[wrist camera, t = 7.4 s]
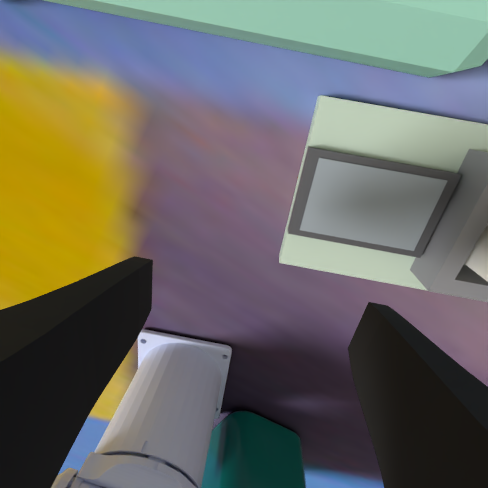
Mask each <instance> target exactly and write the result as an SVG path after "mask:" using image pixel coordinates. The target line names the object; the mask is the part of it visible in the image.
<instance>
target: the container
mask: <svg viewBox="0 0 488 488" xmlns="http://www.w3.org/2000/svg"><path fill="white" fill-rule="evenodd" d="M44 1H49V2H54V3H59V4H64V5H69V6H74V7H79V8H84V9H89V10H94V11H99V12H104V13H109V14H114V15H119V16H124V17H129V18H134V19H139V20H144V21H149V22H154V23H159V24H164V25H169V26H174V27H179V28H184V29H189V30H194V31H199V32H204V33H209V34H214V35H219V36H224V37H229V38H234V39H239V40H244V41H249V42H254V43H259V44H264V45H269V46H274V47H279V48H284V49H289V50H294V51H299V52H304V53H309V54H314V55H319V56H324V57H329V58H334V59H339V60H344V61H349V62H354V63H359V64H364V65H369V66H374V67H379V68H384V69H389V70H394V71H399V72H404V73H409V74H414V75H419V76H424V77H429V78H430V77H435V76H439V75H444V74H449V73H453V72H457V71H462V70H466V69H470V68H474V67H478V66H481V65H482V64H483V63H484V62H485V61H486V60H487V59H488V0H44Z"/></svg>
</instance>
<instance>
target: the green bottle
mask: <svg viewBox="0 0 488 488" xmlns="http://www.w3.org/2000/svg"><path fill="white" fill-rule="evenodd" d="M201 488H306V479H305V471H304V462H303V453H302V444H301V440H300V438H299V436H298V435H297V434H296V433H295V432H294V431H292V430H290V429H288V428H285V427H283V426H281V425H279V424H277V423H275V422H273V421H270V420H268V419H266V418H264V417H262V416H260V415H258V414H255V413H253V412H250V411H245V410H243V411H235V412H232V413H230V414H228V415H227V416H226V417H225V418H224V419H223V420H222V421H221V422H220V423H219V424H218V425H217V426H216V427H215V428H214V429H213V430H212V433H211V438H210V444H209V449H208V454H207V459H206V464H205V469H204V475H203V480H202V485H201Z"/></svg>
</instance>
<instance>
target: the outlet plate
mask: <svg viewBox="0 0 488 488" xmlns="http://www.w3.org/2000/svg"><path fill="white" fill-rule="evenodd" d="M487 224H488V125H487V124H482V123H476V122H470V121H464V120H459V119H453V118H447V117H441V116H436V115H430V114H424V113H419V112H413V111H407V110H401V109H396V108H390V107H384V106H378V105H373V104H367V103H361V102H355V101H350V100H344V99H338V98H333V97H327V96H321V95H320V96H318V98H317V102H316V106H315V110H314V114H313V118H312V123H311V127H310V131H309V135H308V139H307V143H306V147H305V151H304V155H303V159H302V164H301V168H300V172H299V176H298V180H297V184H296V188H295V192H294V196H293V201H292V205H291V209H290V213H289V217H288V221H287V225H286V229H285V233H284V238H283V242H282V246H281V250H280V254H279V263H283V264H288V265H294V266H299V267H304V268H310V269H315V270H320V271H326V272H331V273H337V274H342V275H347V276H353V277H358V278H363V279H369V280H374V281H380V282H385V283H390V284H396V285H401V286H406V287H412V288H417V289H422V290H428V291H430V292H435V293H441V294H446V295H451V296H457V297H462V298H468V299H473V300H478V301H484V302H488V282H487V281H486V280H485V279H483V278H482V277H481V276H479V275H478V274H477V273H476V272H474V271H473V270H472V269H471V268H469V267H468V266H467V265H465V264H464V263H465V261H466V260H467V258H468V256H469V255H470V253H471V251H472V249H473V248H474V246H475V244H476V243H477V241H478V239H479V237H480V236H481V234H482V232H483V231H484V229H485V227H486V225H487Z"/></svg>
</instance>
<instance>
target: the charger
mask: <svg viewBox="0 0 488 488" xmlns="http://www.w3.org/2000/svg"><path fill="white" fill-rule="evenodd" d="M464 264H465V265H467V266H468V267H469V268H471V269H472V270H473V271H474V272H476V273H477V274H478V275H479V276H481V277H482V278H483V279H485V280H486V281H487V282H488V224H487V225H486V227H485V229H484V231H483V232H482V234H481V236H480V237H479V239H478V241H477V243H476V244H475V246H474V248H473V249H472V251H471V253H470V255H469V256H468V258H467V260H466V261H465V263H464Z"/></svg>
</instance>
